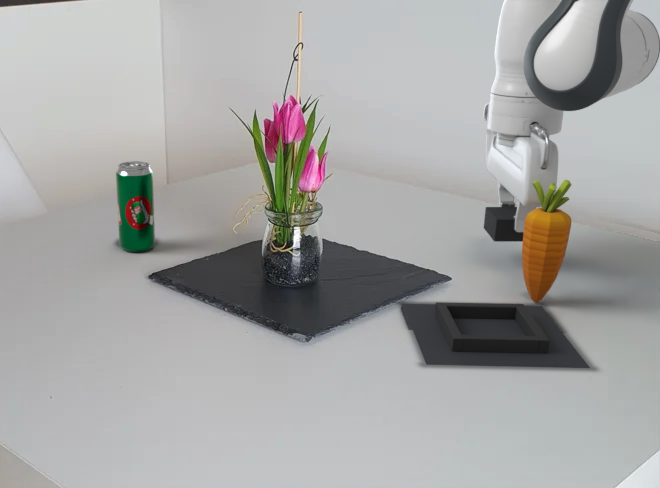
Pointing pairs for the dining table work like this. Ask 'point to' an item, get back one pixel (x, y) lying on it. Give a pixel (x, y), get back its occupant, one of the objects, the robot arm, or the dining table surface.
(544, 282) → the carrot
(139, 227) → the soda can
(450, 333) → the socket mat
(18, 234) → the dining table surface
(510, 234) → the black block
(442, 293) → the dining table surface
